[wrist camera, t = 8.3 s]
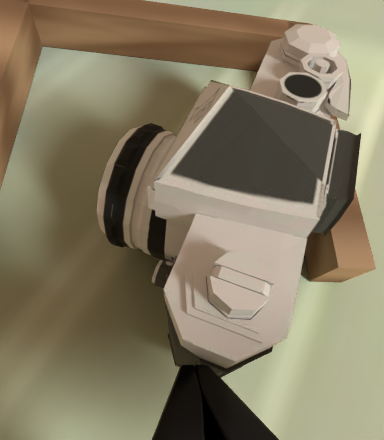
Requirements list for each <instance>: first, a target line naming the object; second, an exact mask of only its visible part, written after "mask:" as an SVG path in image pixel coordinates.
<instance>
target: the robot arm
mask: <svg viewBox="0 0 384 440" xmlns="http://www.w3.org/2000/svg"><path fill="white" fill-rule="evenodd" d="M152 440H279V439H278V438H277V437H276V436H275V435H274V434H273V433H272V432H271V431H270V430H269V429H268V428H267V426H266V425H265V424H264V423H263V422H262V421H261V420H260V419H259V418H258V417H257V416H256V415H255V414H254V413H253V412H252V411H251V410H250V409H249V408H248V406H247V405H246V404H245V403H244V402H243V401H242V400H241V399H240V398H239V397H238V396H237V395H236V394H235V393H234V392H233V391H232V390H231V389H230V388H229V386H228V385H227V384H226V383H225V382H224V381H223V380H222V379H221V378H220V377H219V376H218V375H217V374H216V373H215V372H214V371H213V370H212V369H211V368H210V366H208V365H206V364H197V365H195V366H194V365H181V366H180V368H179V371H178V374H177V376H176V379H175V381H174V384H173V386H172V389H171V392H170V394H169V397H168V399H167V402H166V404H165V407H164V410H163V412H162V415H161V417H160V420H159V422H158V425H157V428H156V430H155V433H154V435H153V438H152Z"/></svg>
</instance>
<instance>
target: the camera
mask: <svg viewBox="0 0 384 440" xmlns="http://www.w3.org/2000/svg"><path fill="white" fill-rule="evenodd" d="M339 48H340V43H339V41H338V39H337V37H336V35H335V33H333V32H331V31H329V30H326V29H324V28H322V27H320V26H318V25H303V24H296V25H294V26H293V27H291V28H290V29H288V30H287V31H285V33H284V36H283V38H282V39H278V40H274V41H271V43H270V45H269V48H268V50H267V52H266V55H265V57H264V59H263V61H262V64H261V66H260V68H259V71H258V73H257V75H256V78H255V80H254V82H253V84H252V87H251V89H250V91H249V90H246V89H242V88H238V87H234V86H231V85H227V84H223V83H220V82H216V81H213V80H211V81H210V83H209V84H208V86H207V87H204V88H203V90H202V92H201V94H200V95H199V97H198V99H197V101H196V102H195V104H194V106H193V108H192V109H191V111H190V113H189V115H188V117H187V118H186V120H185V122H184V124H183V125H182V127H181V129H180V131H179V132H178V134H177V136H176V135H175V134H174V133H173V132H170V131H167V130H164V129H163V128H162V127H161V126H158V125H155V124H147V125H144V126H140V127H136V128H132V129H130V130H129V131H128V132H127V133H126V134H125V135H124V136H123V137H122V138H121V139H120V140H119V141H118V143H117V145H116V147H115V149H114V150H113V152H112V154H111V156H110V158H109V160H108V162H107V164H106V167H105V170H104V174H103V177H102V180H101V183H100V186H99V192H98V202H97V211H96V212H97V218H98V223H99V228H100V229H101V230H102V231H103V232H104V233H105V234H106V236H107V238H108V240H109V242H110V243H111V244H113V245H115V246H119V247H125V246H126V247H129V248H132V249H135V250H136V249H139V248H140V249H142V250H143V252H144V253H146V254H148V255H151V256H154V257H157V258H159V259H162V260H160V261H159V262H158V264H157V266H156V268H155V271H154V274H153V277H152V283H155V284H154V285H157V286H160V287H162V288H164V298H165V306H166V310H167V314H168V324H169V334H168V338H169V341H170V345H171V350H172V354H173V358H174V362H175V366H177V367H179V368H180V366H181V365H194V366H195V365H197V364H206V365H208V366H210V368H211V369H212V370H213V371H214V372H215V373H216V374H217V375H218V376H219V377H220V378H221V377H223V376H225V375H227V374H229V373H231V372H233V371H234V370H236V369H238V368H240V367H242V366H243V365H245V364H247V363H249V362H251V361H253V360H255V359H258V358H260V357H262V356H264V355H266V354H268V353H270V352H272V348H273V346H274V345H275V344H277V343H279V342H281V341H282V340H284V339H286V338H287V336H288V332H289V327H290V323H291V319H292V314H293V309H294V304H295V299H296V294H297V289H298V284H299V279H300V274H301V268H302V263H303V258H304V253H305V248H306V243H307V238H308V237H309V235H310V234H311V232H314V233H323V234H324V236H326V234H327V233H328V232H329V231H330V230H331V229H332V228H333V227H334V225H335V224H336V223H337V222H338V221H339V220H340V218H341V217H342V215H343V214H344V213H345V211H346V210H347V208H348V207H349V205H350V204H351V202H352V201H353V200H354V193H355V184H356V175H357V166H358V157H359V148H360V139H361V133H360V134H359V135H357V136H356V135H354V134H352V133H350V132H348V131H344V130H340V129H336V123H337V121H336V120H334V119H331V118H330V116H331V114H332V115H333V116H336V117H338V118H341V119H343V120H347V118H348V116H349V107H350V90H351V79H350V75H349V70H348V65H347V61H346V59H345V58H344V57H343V56H342V55H341V54H340V53H339V52H338V50H339ZM335 129H336V130H335Z"/></svg>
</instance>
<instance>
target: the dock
mask: <svg viewBox="0 0 384 440" xmlns="http://www.w3.org/2000/svg"><path fill="white" fill-rule="evenodd" d="M296 24H303V25H313V24H309V23H301V22H294V21H287V20H280V19H273V18H266V17H258V16H251V15H244V14H237V13H230V12H223V11H215V10H208V9H201V8H194V7H187V6H180V5H173V4H165V3H158V2H151V1H144V0H0V188H1V185H2V182H3V178H4V175H5V172H6V168H7V165H8V161H9V158H10V155H11V151H12V148H13V144H14V141H15V138H16V134H17V131H18V127H19V124H20V121H21V117H22V114H23V111H24V107H25V104H26V100H27V97H28V94H29V90H30V87H31V83H32V80H33V77H34V73H35V70H36V67H37V63H38V60H39V56H40V53H41V50H42V46H47V47H55V48H64V49H72V50H81V51H89V52H98V53H106V54H115V55H124V56H132V57H141V58H149V59H158V60H166V61H175V62H183V63H192V64H201V65H209V66H218V67H226V68H235V69H243V70H252V71H259V68H260V66H261V64H262V61H263V59H264V57H265V55H266V52H267V50H268V48H269V45H270V43H271V41H274V40H278V39H282V38H283V36H284V33H285V31H287V30H288V29H290V28H291V27H293V26H294V25H296ZM330 118H331V119H334V120H336V121H337V123H336V129H340V128H339V124H338V120H337V117H336V116H333V115H332V114H331V116H330ZM336 129H335V130H336ZM305 257H306V263H307V269H308V276H309V281H316V282H343V281H346V280H348V279H351V278H354V277H356V276H359V275H361V274H364V273H366V272H369V271H371V270H374V269H376V268H375V264H374V260H373V256H372V252H371V248H370V244H369V240H368V237H367V233H366V229H365V225H364V221H363V217H362V213H361V209H360V205H359V202H358V198H357V194H356V190H355V193H354V200H353V201H352V202H351V204H350V205H349V207H348V208H347V210H346V211H345V213H344V214H343V215H342V217H341V218H340V220H339V221H338V222H337V223H336V224H335V225H334V227H333V228H332V229H331V230H330V231H329V232H328V233H327V234H326V236H324V234H323V233H314V232H311V234H310V235H309V237H308V238H307V243H306V248H305Z"/></svg>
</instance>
